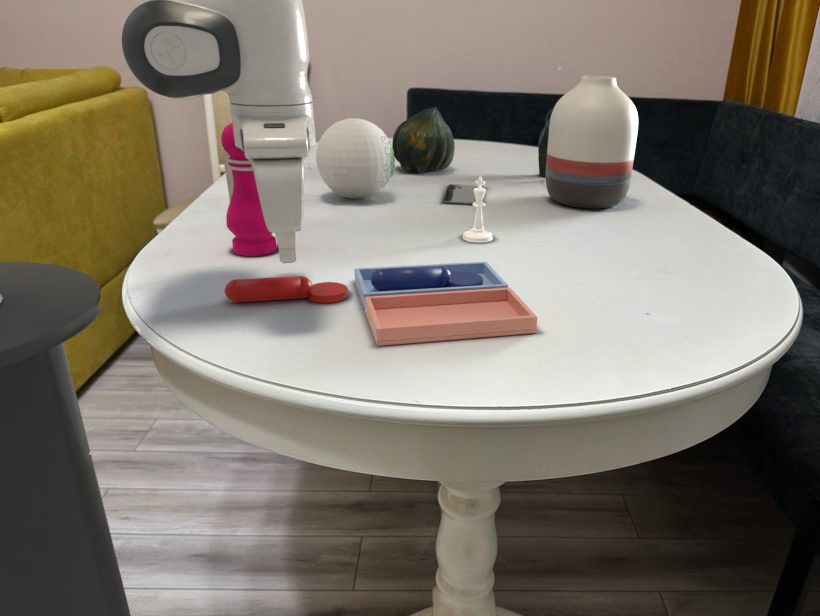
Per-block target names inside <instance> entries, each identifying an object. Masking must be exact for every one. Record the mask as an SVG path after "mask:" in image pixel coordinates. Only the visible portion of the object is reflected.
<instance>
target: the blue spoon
mask: <svg viewBox="0 0 820 616" xmlns="http://www.w3.org/2000/svg"><path fill="white" fill-rule="evenodd" d="M371 284H372V286H373V287H374V288H375V289H377V290H379V291H391V290H407V289H423V288H439V287H445V286H446V287H463V286H480V285H483V278H482V277H481V276H480V275H477V274H474V273H469V272H456V273H450V271H449V270H448V269H447V268H446V267H444V266H426V267H407V268H388V269H378V270H376V271H375V272H374V273H373V274H372V276H371Z"/></svg>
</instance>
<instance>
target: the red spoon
mask: <svg viewBox="0 0 820 616" xmlns="http://www.w3.org/2000/svg"><path fill="white" fill-rule="evenodd" d="M348 289H349V288H348V286H347V285H346V284H344V283H341V282H335V281H324V282H317V283H313V282H312V280H310V279H309V278H308V277H307V276H304V275H291V276H288V275H287V276H273V277H254V278H253V277H251V278H236V279H235V278H234V279H232V280H230V281H228V282H226V284H225V286H224V295H225V297H226V298H227V300H229V301H230V302H233V303H253V302H266V301H268V302H269V301H285V300H299V299H301V300H302V299H305V298H307V299H308V300H309V301H311V302H314V303H318V304H333V303H334V304H335V303H339V302H342V301H345V300H346V299H347V298H348V296H349V290H348Z"/></svg>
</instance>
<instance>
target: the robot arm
mask: <svg viewBox="0 0 820 616" xmlns="http://www.w3.org/2000/svg"><path fill="white" fill-rule="evenodd" d="M121 48H122V54H123V57H124V60H125V62H126V64H127V67H128V68H129V69H130V72H131V73H132V74H133V75H134V77H135V78H136V79H137V80H138V81H139V82H140V83H141V84H142V86H144V87H145V88H147V89H148V90H150V91H152V92H153V93H155V94H157V95H160V96H162V97H166V98H171V99H174V100H175V99H176V100H191V99H195V98H199V97H202V96H206V95H212V94H215V93H219V92H224V93H226V94H227V96H228V99H229V108H230V115H231V116H230V117H231V123H232V124H233V132H234V140H235V146H236V147H238V148H240V149H241V150H242V151H243V152H244V154H245V157H246V158H247V159H249V161H250V162H251V165H252V168H253V172H254V177H255V181H256V185H257V190H258V194H259V199H260V203H261V208H262V212H263V216H264V220H265V223H266V226H267V229H268V231H269V232H271V233H272V234H275V238H276V245H277V249H278V255H279V261H280V263H282V264H293V263H295V262H296V261H297V253H296V232H297V233H298V232H300V231H302V228H303V223H304V206H305V205H304V203H305V165H306V164H305V163H306V160H307V158H309V156H310V150H311V149H312V148H313V147H314V146H316V144H317V137H316V126H315V124H316V123H315V112H314V102H313V101H314V100H313V96H312V92H311V89H310V86H309V81H308V71H309V64H310V49H309V38H308V28H307V20H306V15H305V9H304V5H303V0H147V1H145V2H143V3H141V4H139V5H138V6H136V7H135V8H134V9H133V10H132V11H131V12H130V13H129V14H128V16H127V17H126V20H125V21H124V24H123V28H122V32H121ZM2 300H3V297H2V295H1V294H0V303H1V302H2Z"/></svg>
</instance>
